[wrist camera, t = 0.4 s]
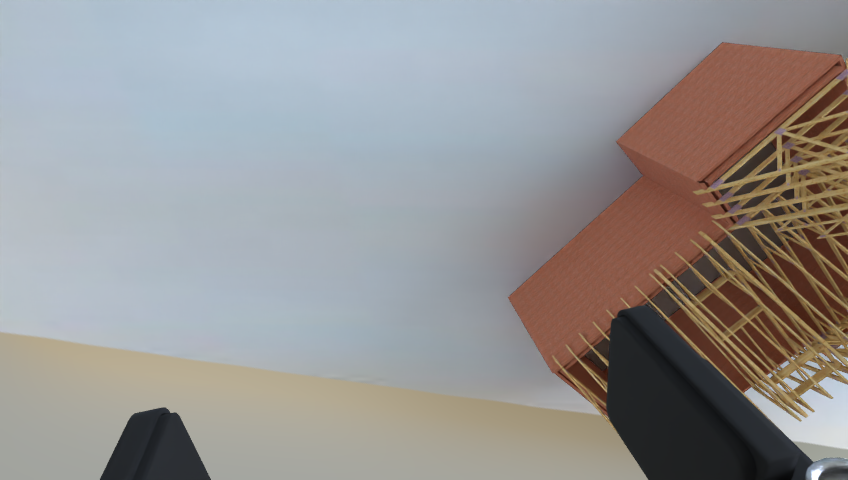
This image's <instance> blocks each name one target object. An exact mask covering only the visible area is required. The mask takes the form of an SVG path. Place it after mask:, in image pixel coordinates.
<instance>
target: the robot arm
mask: <svg viewBox="0 0 848 480" xmlns="http://www.w3.org/2000/svg"><path fill="white" fill-rule="evenodd" d="M606 409H607V414H608V417H609V419H610V421H611V423H612V425H613V426H614V428H615V429H616V431H617V433H618V434H619V436H620V437H621V439H622V440H623V441H624V443H625V445H626V446H627V448H628V449H629V451H630V452H631V454H632V455H633V457H634V458H635V460H636V461H637V463H638V464H639V466H640V467H641V469H642V470H643V472H644V474H645V475H646V477H647V478H648V480H848V459H844V458H824V459H821V460H818V461H816V462H813V461H812V460H811V459H810V458H809V457H808V456H806V454H804V453H803V452H802V451H801V450H800V449H799V448H798V447H797V446H796V445H795V444H794V443H793V442H792V441H791V440H790V439H789V438H788V437H787V436H786V435H785V434H784V433H783V432H782V431H781V430H780V429H779V428H777V427H776V426H775V425H774V424H773V423H772V422H771V421H770V420H769V419H768V418H767V417H766V416H765V415H764V414H763V413H762V412H761V411H760V410H759V409H758V408H757V407H756V406H755V405H754V404H753V403H751V402H750V401H749V400H748V399H747V398H746V397H745V396H744V395H743V394H742V393H741V392H740V391H739V390H738V389H737V388H736V387H735V386H734V385H733V384H732V383H731V382H730V381H729V380H728V379H727V378H726V377H724V376H723V375H722V374H721V373H720V372H719V371H718V370H717V369H716V368H715V367H714V366H713V365H712V364H711V363H710V362H708V361H707V360H706V359H704V358H702V357H701V356H700V355H699V354H698V353H696V352H695V351H694V350H693V349H692V348H691V347H690V346H689V345H688V344H687V343H686V342H685V341H684V340H683V339H682V338H681V337H680V336H679V335H678V334H677V333H676V332H675V331H674V330H673V329H672V328H671V327H670V326H669V325H668V324H667V323H666V322H665V321H664V320H662V319H661V318H660V317H659V316H658V315H657V314H656V313H655V312H654V311H653V310H652V309H651V308H650V307H648V306H646V305H642V306H637V307H632V308H628V309H623V310H620V311H619V312H618V314H617V318H614V319H612V321H611V328H610V346H609V364H608V382H607V401H606ZM100 480H211V479H210V477H209V475H208V473H207V471H206V469H205V467H204V465H203V463H202V461H201V459H200V457H199V455H198V453H197V451H196V449H195V446H194V444H193V442H192V440H191V438H190V436H189V434H188V432H187V430H186V428H185V426H184V424H183V422H182V420H181V418H180V416H179V415H178V414H177V413H170V411H169V410H168V409H166V408H158V409H153V410H149V411H144V412H139V413H135V414H133V415H132V416H131V418H130V419H129V421H128V423H127V425H126V427H125V429H124V431H123V433H122V435H121V437H120V439H119V441H118V443H117V446H116V447H115V450H114V452H113V454H112V456H111V458H110V460H109V462H108V464H107V466H106V468H105V470H104V472H103V474H102V476H101V478H100Z"/></svg>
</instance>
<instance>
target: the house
mask: <svg viewBox="0 0 848 480" xmlns="http://www.w3.org/2000/svg"><path fill="white" fill-rule="evenodd" d="M767 135H768V137H767V138H766V139H764V138H765V137H766V136H767ZM763 139H764V140H763ZM761 140H763V141H762V142H761V143H760V144H759V145H758V146H756V145H757V144H758V143H759V142H760V141H761ZM616 142H617V144H618V145H619V146H620V147H621V149H622V150H623V151H624V152H625V154H626V155H627V156H628V157H629V159H630V160H631V161H632V162H633V164H634V165H635V166H636V167H637V169H638V170H639V171H640V172H641V174H642V175H643V176H642V177H641V178H640V179H639V180H638V181H637V182H636V183H634V184H633V185H632V186H631V187H630V188H629V189H628V190H627V191H626V192H624V193H623V194H622V195H621V196H620V197H619V198H618V199H617V200H616V201H614V202H613V203H612V204H611V205H610V206H609V207H608V208H607V209H606V210H604V211H603V212H602V213H601V214H600V215H599V216H598V217H597V218H596V219H594V220H593V221H592V222H591V223H590V224H589V225H588V226H587V227H586V228H584V229H583V230H582V231H581V232H580V233H579V234H578V235H577V236H576V237H574V238H573V239H572V240H571V241H570V242H569V243H568V244H567V245H566V246H564V247H563V248H562V249H561V250H560V251H559V252H558V253H557V254H556V255H554V256H553V257H552V258H551V259H550V260H549V261H548V262H547V263H546V264H544V265H543V266H542V267H541V268H540V269H539V270H538V271H537V272H536V273H534V274H533V275H532V276H531V277H530V278H529V279H528V280H527V281H526V282H525V283H523V284H522V285H521V286H520V287H519V288H518V289H517V290H516V291H515V292H513V293H512V294H511V295H510V296H509V297H508V299H509V300H510V302H511V304H512V305H513V307H514V309H515V311H516V312H517V314H518V316H519V317H520V319H521V321H522V322H523V324H524V326H525V328H526V329H527V331H528V333H529V334H530V336H531V338H532V339H533V341H534V343H535V344H536V346H537V348H538V350H539V351H540V353H541V355H542V356H543V358H544V360H545V361H546V363H547V365H548V367H549V368H550V370H551V372H552V373H555V374H556V375H557V376H558V377H560V378H561V379H562V380H563V381H565V382H566V383H567V384H568V385H570V386H571V387H572V388H573V389H574V390H576V391H577V392H578V393H579V394H581V395H582V396H583V397H584V398H586V399H587V400H588V401H589V402H591V403H592V404H593V405H594V407H595V408H596V409H597V410H598V411H599V412H600V413H601V415H602V416H603V417H604V418H605V419H606V420H607V422H608V423H609V424H610V425H611V426H612V427H613V428H614V426H613V425H612V423H611V421H610V420H609V419H608V418H607V417H606V416H605V415H607V416H608V414H607V409H606V401H607V382H608V368H606V369H605V370H604V371H602V370H601V369H600V368H598V367H597V366H596V365H595V364H594V363H593V362H592V361H590V360H589V359H588V358H587V357H586V356H585V354H586V353H587V352H589V351H590V350H591V349H592V350H593V351H594V352H595V353H596V354H597V355H598V356H599V357H600V359H601V360H602V361H603V362H604V363H605V364H606V365H607V366H608V364H609V361H608V360H607V359H606V358H605V357H603V356H602V355H601V354H600V353H599V352H598V351H597V350H596V349H595V348H594V347H595V346H596V345H597V344H598V343H599V342H601V341H602V340H603V339H604V338H605V337H606V338H607V339H608V340H609V341H610V338H609V337H608V335H609V334H610V328H611V321H612V319H614V318H617V314H618V312H619V311H620V310H623V309H628V308H632V307H637V306H642V305H645V304H646V303H647V302H650V303H651V304H652V305H653V306H654V307H655V308H656V309H657V310H658V311H659V312H660V313H661V314H662V315H663V317H664V318H665V319H666V320H665V322H666V323H667V324H668V325H669V326H670V327H671V328H672V329H673V330H674V331H675V332H676V333H677V334H678V335H679V336H680V337H681V338H682V339H683V340H684V341H685V342H686V343H687V344H688V345H689V346H690V347H691V348H692V349H693V350H694V351H695V352H696V353H698V354H699V355H700V356H701V357H702V358H704V359H706V360H707V361H708V362H710V363H711V364H712V365H713V366H714V367H715V368H716V369H717V370H718V371H719V372H720V373H721V374H722V375H723V376H724V377H726V378H727V379H728V380H729V381H730V382H731V383H732V384H733V385H734V386H735V387H736V388H737V389H738V390H739V391H740V392H741V393H742V394H743V395H744V396H745V397H746V398H747V399H748V400H749V401H750V402H751V403H753V402H752V401H751V400H750V399H749V398H748V397H747V396H746V395H745V394H744V392H745V391H747V390H748V389H749V388H751V387H752V388H753V389H754V390H756V391H757V392H759V393H760V394H762V395H763V396H764V397H766V398H767V399H769V400H770V401H772V402H773V403H774V404H776V405H777V406H779V407H780V408H782V409H783V410H784V411H786V412H787V413H789V414H790V415H792V416H793V417H794V418H796V419H797V420H799V421H800V422H801V421H802V420H801V419H800V418H799V417H798V416H796V415H795V414H794V413H793V412H792V411H791V410H790V409H789V408H788V407H787V406H789V407H790V408H792V409H793V410H795V411H796V412H798V413H799V414H801V415H802V416H804V417H805V418H806V417H808V415H807V414H806V413H805V412H804V411H803V410H802V409H801V408H800V407H799V406H798V405H797V404H796V403H795V402H794V401H796V402H797V403H799V404H801V405H802V406H804V407H806V408H807V409H809V410H811V411H812V412H815V411H814V410H813V409H812V408H811V407H810V406H809V405H808V404H807V403H806V402H805V401H804V400H803V399H802V398H801V397H800V396H801V395H802V394H803V393H805V392H806V391H807V390H809V389H812V390H814V391H816V392H818V393H820V394H822V395H824V396H827V397H829V398H831V399H833V397H832V396H831V395H830V394H828V393H827V392H826V391H825V390H824V389H823V388H822V387H821V386H820V385H819V384H818V382H820V381H821V380H823V379H824V378H825V377H829V378H832V379H835V380H837V381H840V382H842V383H845V384H847V385H848V380H847V379H845V378H844V377H843V376H842V375H841V374H840V373H839V372H838V371H837V370H839V371H842V372H845V373H848V361H847V360H846V359H845V358H844V357H847V358H848V347H847V345H848V58H846V64H845V62H844V60H843V58H842V56H841V55H836V54H826V53H817V52H807V51H798V50H788V49H779V48H770V47H760V46H751V45H741V44H732V43H723V42H722V43H721V44H720V45H719V46H718V47H717V48H716V49H715V50H714V51H713V52H712V53H710V54H709V55H708V56H707V57H706V58H705V59H704V60H703V61H702V62H701V63H700V64H699V65H698V66H697V67H695V68H694V69H693V70H692V71H691V72H690V73H689V74H688V75H687V76H686V77H685V78H684V79H683V80H682V81H680V82H679V83H678V84H677V85H676V86H675V87H674V88H673V89H672V90H671V91H670V92H669V93H668V94H667V95H665V96H664V97H663V98H662V99H661V100H660V101H659V102H658V103H657V104H656V105H655V106H654V107H653V108H651V109H650V110H649V111H648V112H647V113H646V114H645V115H644V116H643V117H642V118H641V119H640V120H639V121H638V122H636V123H635V124H634V125H633V126H632V127H631V128H630V129H629V130H628V131H627V132H626V133H625V134H624V135H623V136H621V137H620V138H619V139H618V140H617V141H616ZM769 142H772V144H773V145H774V147H775V149H776V151H775V152H774V153H773V154H771V155H770V156H769V157H768V158H767V159H766V160H764V161H763V162H762V163H761V164H760V165H759V166H757V167H756V168H755V169H754V170H753V171H752V172H750V173H749V174H748V175H747V176H746V177H745V178H743V179H742V180H738V181H733V182H729V183H725V184H723V183H724V181H725V180H726V179H728V178H729V177H730V176H731V175H732V174H733V173H735V172H736V171H737V170H738V169H739V168H740V167H742V166H743V165H744V164H745V163H746V162H747V161H748V160H750V159H751V158H752V157H753V156H754V155H755V154H757V153H758V152H759V151H760V150H761V149H762V148H764V147H765V146H766V145H767V144H768V143H769ZM754 146H756V147H755V148H754V149H753V150H752V151H751V152H749V151H750V150H751V149H752V148H753V147H754ZM748 152H749V153H748ZM746 153H748V154H747V155H746V156H745V157H744V158H742V157H743V156H744V155H745V154H746ZM776 157H777V170H776V171H774V172H770V173H766V174H762V175H758V176H755V175H756V174H758V173H759V172H760V171H761V170H762V169H764V168H765V167H766V166H767V165H768V164H769V163H771V162H772V161H773V160H774V159H775V158H776ZM741 158H742V159H741ZM739 159H741V160H740V161H739V162H738V163H737V164H736V165H734V164H735V163H736V162H737V161H738V160H739ZM782 160H783V162H784V165H782ZM733 165H734V166H733ZM731 166H733V167H732V168H731V169H730V170H729V171H727V170H728V169H729V168H730V167H731ZM726 171H727V172H726ZM724 172H726V173H725V174H724V175H723V176H722V177H721V178H719V177H720V176H721V175H722V174H723V173H724ZM783 174H786V182H784V183H783V184H782V185H781V186H779V187H774V188H770V189H765V190H762V189H764V188H765V187H766V186H767V185H768V184H770V183H771V182H772V181H773V180H774V179H775V178H777V177H778V176H779V175H783ZM791 175H792V177H791ZM717 178H719V179H718V180H717V181H716V182H715V183H713V182H714V181H715V180H716V179H717ZM766 178H767V179H766ZM762 179H766V180H765V181H763V182H762V183H761V184H760V185H759V186H757V187H756V188H755V189H754V190H753V191H752V192H750V193H748V194H743V195H739V196H734V197H732V196H733V194H734V193H735V192H736V191H738V190H739V189H740V188H741V187H742V186H744V185H745V184H746V183H750V182H754V181H758V180H762ZM733 186H734V187H733ZM729 187H733V188H732V189H730V190H729V191H728V192H727V193H726V194H725V195H723V196H722V195H721V193H720V192H719V190H721V189H725V188H729ZM793 188H794V196H795V199H790V200H786V199H785V198H783V197H782V196H780V194H782V193H783V192H784V191H785V190H788V189H793ZM770 193H771V194H770ZM766 194H770V195H769V196H768V197H766V198H765V199H764V200H763V201H762V202H760V203H759V204H758V205H757V206H756V207H751V208H746V209H741V208H742V206H743V205H745V204H746V203H747V202H748V201H749V200H751V199H752V198H753V197H756V196H761V195H766ZM799 196H800V198H799ZM774 199H777V200H778V202H775V203H771V202H772V201H773V200H774ZM738 200H741V201H740V202H738V203H737V204H736V205H735V206H734V207H733V208H731V207H730V206H729V204H728V203H729V202H734V201H738ZM800 202H802V210H800V211H799V210H798V209H797V208H796V207H795V206H793V205H792V204H795V203H800ZM786 205H787V206H788V207H790V208H791V209H792V210H793V211H795V213H791V212H790V210H789V209H788V207H787V206H786ZM780 206H781V207H782V208H783V210H784V211H785V213H786V214H785V215H779V216H774V215H773V214H772V213H771V212H769V211H768V210H767V209H770V208H775V207H780ZM740 209H741V210H740ZM760 211H762V213H763V214H764V216H765V217H766V218H763V219H758V220H753V221H751V219H752V218H753V217H754V216H755V215H756V214H758V213H759V212H760ZM745 213H747V214H746V215H745V216H744V217H742V218H741V219H740V220H739V219H738V217H737V216H736V215H740V214H745ZM807 216H812V217H813V219H814V220H813V221H812V220H811V219H809V218H808V217H807ZM796 218H803V219H804V220H806V221H807V222H808V223H809V224H807V223H804V222H802V221H800V220H798V219H796ZM785 220H788V221H787V222H786V223H785V224H784V223H783V222H781V221H785ZM774 222H777V223H778V224H779V225H781V227H780V228H777V226H776V225H775V223H774ZM790 222H792V224H793V225H794V227H787V225H788V224H789V223H790ZM768 223H770V225H771V226H772V228H773V229H774V231H775V232H776V234H777V235H778V237H779V238H780V240H781V241H782V243H783V244H784V245H782V246H781V247H780V248H779V247H778V246H776V245H775V244H774V243H773V242H772V241H771V240H769V239H768V238H767V237H766V236H765V235H764V234H762V233H761V232H760V231H759V230H758V229H757V228H755V227H754V226H757V225H763V224H768ZM798 224H799V225H800V226H799V225H798ZM746 227H747V228H748V229H749V231H750V232H751V234H752V235H753V236H754V238H755V239H756V241H757V242H758V244H759V245H760V246H761V248H762V249H763V251H764V252H765V253H766V255H767V256H768V258H766V259H765V260H764V261H763V262H762V261H761V260H760V259H759V258H758V257H757V256H755V255H754V254H753V253H752V252H751V251H750V250H749V249H747V248H746V247H745V246H744V245H743V244H742V243H741V242H739V241H738V240H737V239H736V238H735V237H734V236H733V235H731V234H730V233H732V232H733V231H734V230H735V229H740V228H746ZM801 228H804V229H801ZM793 229H796V230H797V232H798V233H797V234H796V233H795V232H793V231H792V230H793ZM780 231H788V232H789V233H790V234H791V235H793V236H794V237H792V238H791V237H789V236H787V235H785V234H783V233H781V232H780ZM756 233H757V234H759V235H760V236H761V237H762V238H763V239H764V240H766V241H767V242H768V243H769V244H770V245H771V246H773V247H774V248H775V249H776V251H774V250H772V249H770V248H769V247H767V246H765V245H764V244H763V242H762V241H761V240H760V238H759V237H758V235H757V234H756ZM727 236H728V237H729V238H730V240H731V241H732V242H733V244H734V245H735V246H736V248H737V249H738V250H739V252H740V253H741V254H742V256H743V257H744V258H745V260H746V261H747V262H748V264H749V265H750V266H751V268H752V269H753V270H751V271H750V272H748V271H747V270H745V269H744V268H743V267H742V266H741V265H740V264H739V263H738V262H737V261H735V260H734V259H733V258H732V257H731V256H730V255H729V254H728V253H726V252H725V251H724V250H723V249H722V248H721V247H720V246H719V245H718V243H720V242H721V241H722V240H723V239H724V238H726V237H727ZM783 236H784V237H786V238H787V239H789V241H786V240H785V238H784V237H783ZM740 246H741V247H742V248H743V249H744V250H745V251H746V252H747V253H749V254H750V255H751V256H752V257H753V258H754V259H755V260H757V261H758V262H759V263H760V264H758V263H756V262H754V261H753V260H751V259H749V258H748V256H747V255H746V254H745V252H744V251H743V250H742V248H741V247H740ZM712 248H714V249H715V250H716V251H717V252H718V254H719V255H720V256H721V257H722V259H723V260H724V261H725V263H726V264H727V265H728V266H729V268H730V270H729V271H728V270H726V269H725V268H723V267H722V266H721V265H720V264H719V263H718V262H717V261H716V260H715V259H714V258H712V257H711V256H710V255H709V254H708V252H709V251H710V250H711V249H712ZM768 250H769V251H771V252H773V253H772V254H770V252H769V251H768ZM704 255H706V257H707V258H708V259H709V260H710V262H711V263H712V264H713V265H714V267H715V268H716V269H717V270H718V272H719V273H720V274H721V275H720V276H719V277H718V278H717V279H715V280H714V281H713V282H712V283H710V282H708V281H707V280H706V279H705V278H704V277H703V276H702V275H701V274H700V273H699V272H698V271H697V270H696V269H695V268H693V267H692V265H693V264H694V263H696V262H697V261H698V260H699V259H700V258H702V257H703V256H704ZM753 264H755V265H756V267H755V266H754V265H753ZM735 266H736V267H737V268H738V269H739V270H740V271H739V270H738V269H736V268H735ZM719 267H720V268H721V269H722V270H723V271H724V273H723V272H722V271H721V269H720V268H719ZM688 268H690V269H691V270H692V271H693V272H694V273H695V274H696V276H697V277H698V278H699V279H700V280H701V282H702V283H703V284H704V285H705V286H706V288H704V289H703V290H702V291H701V292H700V293H698V294H697V295H696V296H694V295H693V294H692V293H691V292H690V291H689V290H688V289H687V288H686V287H685V286H684V285H682V284H681V283H680V282H679V281H678V280H677V279H676V278H678V277H679V276H680V275H681V274H682V273H684V272H685V271H686V270H687V269H688ZM735 275H736V276H735ZM674 280H675V281H676V282H677V283H678V285H679V286H680V287H681V288H682V289H683V290H684V291H685V293H686V294H687V295H688V296H689V297H690V298H691V300H690V301H689V300H688V299H687V298H686V297H685V296H684V295H683V294H682V293H681V292H680V291H679V290H678V289H677V288H676V287H675V286H674V285H673V284H672V282H673V281H674ZM706 283H707V284H708V285H707V284H706ZM667 286H669V287H670V288H671V289H672V290H673V291H674V292H675V293H676V295H677V296H678V297H679V298H680V299H681V300H682V301H683V302H684V304H685V305H683V304H682V303H681V302H679V301H678V300H677V299H676V298H675V297H674V296H673V295H672V294H671V293H670V292H669V291H668V290H667V289H666V288H665V287H667ZM663 289H664V290H665V291H666V292H667V293H668V294H669V295H670V296H671V298H672V299H673V300H674V301H675V302H676V303H677V304H678V305H679V306H680V309H679V310H677V311H676V312H675V313H674V314H673V315H671V316H670V317H669V318H668V317H667V316H666V315H665V314H664V313H663V312H662V311H661V310H660V309H659V308H658V307H657V306H656V305H655V304H654V303H653V302H652V301H651V299H652V298H653V297H655V296H656V295H657V294H658V293H659V292H661V291H662V290H663ZM840 345H843V346H844V348H845V349H836V348H838V347H839V346H840ZM804 347H805V348H806V349H807V350H805V349H804ZM800 350H801V351H803V352H804V353H801V352H800ZM818 353H822V354H824V355H825V356H827V357H828V358H829V359H830V361H831V362H829V361H826V360H825V359H823V358H822V357H821V356H820V355H819V354H818ZM831 353H832V354H833V355H834V356H836V357H837V358H838V359H839V360H840V361H841V362H842V363H843V364H844V365H846V366H847V367H846V366H843V365H842V363H840V362H839V361H838V360H836V359H834V357H833V356H832V355H831ZM794 355H796V356H797V357H798V358H797V357H796V356H794ZM792 356H793V357H794V358H795V360H792V359H791V357H792ZM816 356H817V357H818V358H816ZM787 360H788V361H789V363H790V364H789V365H787V366H786V367H784V368H783V369H782V368H781V367H780V365H781V364H783V363H784V362H785V361H787ZM807 361H812V362H815V363H818V365H819V366H820V367H821V370H820V369H817V368H814V367H812V366H809V365H806V364H805V363H806V362H807ZM822 365H824V366H826V367H823V366H822ZM777 367H779V368H780V369H781V370H778V369H777ZM801 367H803V368H806V369H809V370H811V371H814V372H816V374H815V375H813V376H812V377H810V376H809V375H808V374H807V373H806V372H805V371H804V370H803V369H802V368H801ZM798 369H799V370H800V371H801V372H802V373H803V374H804V375H805V376H807V377H808V378H809V379H808V380H806V378H805V377H804V376H803V375H802V373H801V372H800V371H799V370H798ZM773 370H774V371H776V372H777V373H776V374H775V373H774V372H773ZM795 370H796V371H797V372H798V373H799V375H800V376H801V377H802V378H803V380H804V381H805V382H804V381H802V380H799V379H797V378H795V377H793V376H791V375H790V374H791V373H793V372H794V371H795ZM832 372H835V373H836V374H837V375H838V376H836V375H834V374H831V373H832ZM769 373H771V374H772V375H773V376H772V377H771V378H769V377H768V376H767V375H768V374H769ZM786 377H787V378H789V379H791V380H794V381H796V382H798V383H800V384H801V385H800V386H798V387H797V388H795V389H794V390H792V389H791V388H790V387H789V386H788V385H787V384H786V383H785V382H784V381H783V379H784V378H786ZM763 378H764V379H765V380H764V379H763ZM761 380H762V381H763V382H764V383H766V384H767V385H769V386H771V387H772V388H773V390H774V391H775V392H776V393H777V394H776V393H775V392H773V391H771V390H770V389H769V388H768V387H767V386H766V385H765V384H764V383H763V382H762V381H761ZM778 383H780V385H781V386H782V387H783V388H784V389H785V390H786V391H787V393H786V392H785V391H783V390H781V389H780V388H779V387H778V386H777V385H776V384H778ZM755 384H756V385H757V386H758V387H760V388H761V389H763V390H764V391H766V392H767V393H769V394H770V395H771V397H772V398H773V399H774V400H773V399H772V398H770V397H769V396H767V395H766V394H765V393H764V392H763V391H761V390H760V389H759V388H758V387H757V386H756V385H755ZM783 384H784V385H785V386H786V387H787V388H788V389H789V390H790V391H791V392H789V391H788V389H787V388H786V387H785V386H784V385H783ZM753 385H754V386H755V387H754V386H753ZM814 385H816V386H817V387H818V388H817V387H815V386H814ZM797 398H798V399H797ZM778 401H779V402H780V403H781V404H782V405H783V406H782V405H781V404H780V403H779V402H778ZM753 404H754V403H753ZM785 404H786V405H787V406H786V405H785ZM754 405H755V404H754ZM755 406H756V405H755ZM756 407H757V406H756ZM757 408H758V407H757ZM758 409H759V408H758ZM759 410H760V409H759ZM760 411H761V410H760ZM761 412H762V411H761ZM762 413H763V412H762ZM763 414H764V413H763ZM764 415H765V414H764ZM765 416H766V415H765ZM766 417H767V416H766ZM767 418H768V417H767ZM768 419H769V418H768ZM769 420H770V419H769ZM770 421H771V420H770ZM771 422H772V421H771ZM772 423H773V422H772ZM773 424H774V423H773ZM774 425H775V424H774ZM775 426H776V425H775ZM776 427H777V426H776ZM777 428H778V427H777ZM614 430H615V431H616V429H615V428H614ZM616 432H617V431H616Z"/></svg>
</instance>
